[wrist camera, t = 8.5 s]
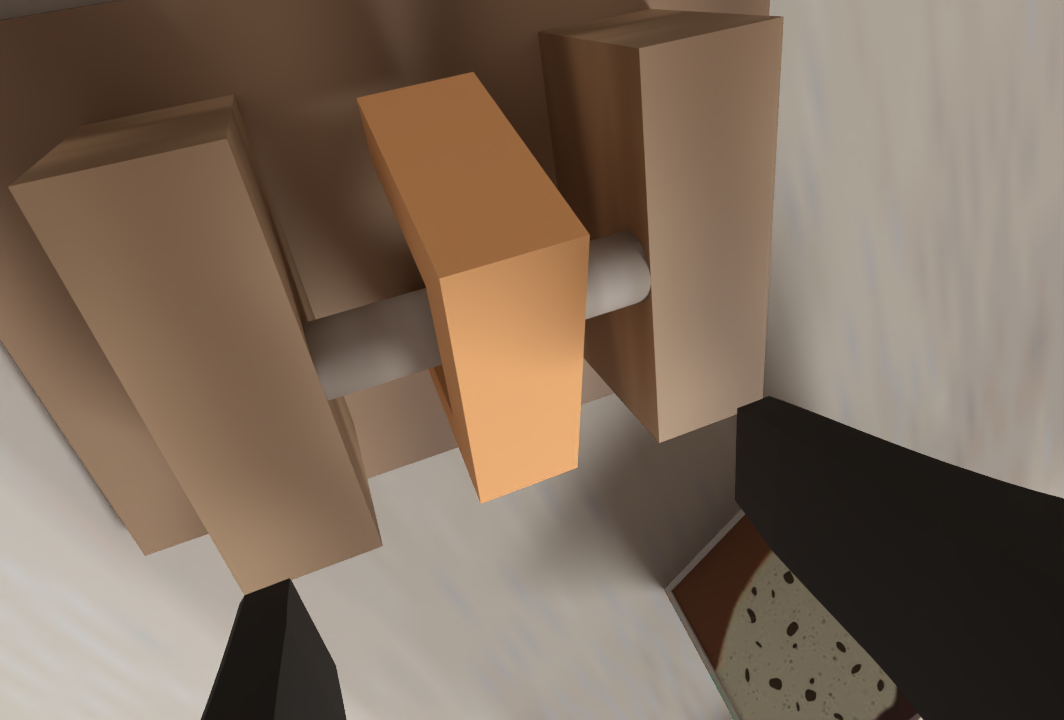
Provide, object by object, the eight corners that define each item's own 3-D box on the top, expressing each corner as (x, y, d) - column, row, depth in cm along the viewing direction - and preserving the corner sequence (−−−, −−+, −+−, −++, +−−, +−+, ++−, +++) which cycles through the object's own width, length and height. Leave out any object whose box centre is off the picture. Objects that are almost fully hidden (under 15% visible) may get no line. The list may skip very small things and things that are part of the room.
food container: (714, 644, 33) (868, 861, 25) (641, 612, 29) (791, 853, 21) (894, 463, 31) (1124, 634, 23) (838, 407, 28) (1085, 585, 19)
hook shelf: (148, 536, 19) (115, 717, 14) (-169, 49, 12) (-434, 89, 7) (740, 334, 24) (863, 421, 19) (754, -107, 17) (953, -142, 12)
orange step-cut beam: (414, 336, 18) (480, 503, 15) (356, 98, 13) (439, 279, 10) (496, 311, 19) (577, 467, 16) (473, 71, 13) (590, 234, 10)
